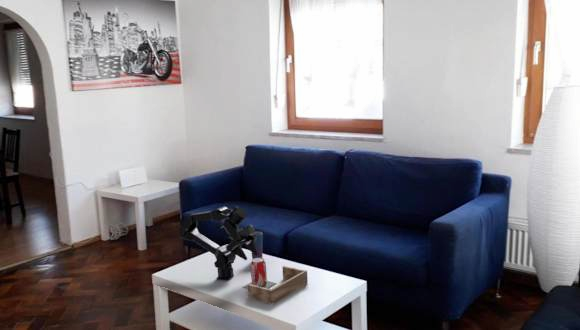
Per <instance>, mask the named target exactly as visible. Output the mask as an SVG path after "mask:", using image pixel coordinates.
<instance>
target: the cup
mask: <svg viewBox="0 0 580 330" xmlns="http://www.w3.org/2000/svg"><path fill="white" fill-rule="evenodd" d="M251 234H252V233H251ZM253 234H255V235H256V236H257V238H256V241H255V245H256V249H257V252H258V255H257V256H256V255H255V254H253V253H252V252H251V258H252V259H254V258H263V232H261V231H254V233H253ZM252 259H251V260H252Z"/></svg>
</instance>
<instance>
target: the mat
mask: <svg viewBox="0 0 580 330" xmlns="http://www.w3.org/2000/svg"><path fill="white" fill-rule="evenodd" d="M248 284H252V281H250V282H249V283H247V284H245V285H243V286H242V288H244V289H247V290H248ZM252 285H253V284H252ZM275 285H277V282H274V281H270V280H267V283H266V284H265V285H264V286H262V287H264V288H268V289H271V288H272V287H273V286H275Z"/></svg>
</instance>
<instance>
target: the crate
mask: <svg viewBox="0 0 580 330" xmlns="http://www.w3.org/2000/svg"><path fill="white" fill-rule="evenodd" d="M282 279H283V280H285V281H283V282H282V283H280V284H277V285H276V286H274V287H273V288H272V287H271V288H264V287H260V286H256V285H252V284H249V283H247V284H248V289H247V297H248V299H252V300H255V301H258V302H262V303H266V304H269V305H273V304H275V303H277V302H279V301H280V300H282V299H284V298H285V297H287V296H289V295H290V294H292V293H293V292H296V291H297V290H298V289H300V288H302V287H304V286H306V285H307V284H308V282H309V281H308V271H307V270H305V269H300V268H297V267H291V266H286V265H283V266H282Z"/></svg>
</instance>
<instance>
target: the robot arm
mask: <svg viewBox="0 0 580 330" xmlns="http://www.w3.org/2000/svg"><path fill="white" fill-rule="evenodd" d="M247 217H248V213H247V211H246V210H245V209H244V208H242V207H240V206H239V205H237V206H235V207H234V208H233V209H229V208H228V207H227V206H226V205H225V206H221V207H219V208H215V209H213V210H209V211H202V212H193V213H191V214H188V215H187V216H186V219H185V220H184V221H183V223H182V224H181V225H180V227H178V229H177V230H178V233H177V234H178V236H179V237H180V238H181V239H183V240H186V241H191V242H194V243H195V244H197V245H199V246H200V247H202V248H203V249H205V250H206V251H208V252H209V253H211V254H212V255H214V257H215V259H216V260H215V261H214V264H213V265H214V267H215V268H216V269H217V277H216V279H217V280H223V281H229V280H230V279H232V277H234V276H235V274H234V267H233V264H234V262H235V261H236V257H237V256H238V257H240V258H241V259H243V260H244V261H248V257H247V255H246V254H245V252H244V250H243V244H244V246H245V248H246V249H248V250H249V251H250V253H251V254H252V253H253V254H255V255H256V256H257V255H258V252H257V249H256V245H255V241H256V238H257V236H256V235H255V234H253V233H254V232H255V229H256V228H255V227H254V226H253V225H252V224H249V225H247V227H246V228H244V229H243V227H239V226H238V225H240V224H241V223H243V221H245V220H246V218H247ZM210 220H211V221H214V222H219V229H222V228H224V230H225V231H226V233H227V234H228V236H227V237H228V239H231V241H230V242H229V243H228V244H224V245H223V246H220V245H219V244H217V243H216V242H214V241H212V240H211V239H209V238H208V237H206V236H205V235H203V234H201V232H199V229H198V222H202V221H203V222H204V221H210ZM251 233H252V234H251Z"/></svg>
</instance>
